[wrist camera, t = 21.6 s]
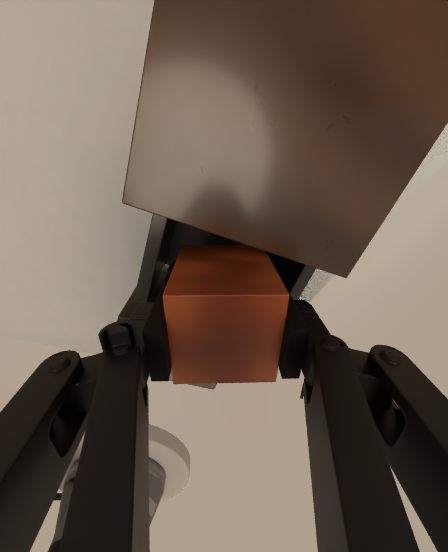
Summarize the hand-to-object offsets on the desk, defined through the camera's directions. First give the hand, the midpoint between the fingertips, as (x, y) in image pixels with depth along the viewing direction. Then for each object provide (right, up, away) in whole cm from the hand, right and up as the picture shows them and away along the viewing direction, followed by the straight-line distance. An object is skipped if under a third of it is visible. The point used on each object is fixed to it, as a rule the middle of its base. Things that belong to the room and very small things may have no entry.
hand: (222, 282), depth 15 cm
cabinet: (+3, +13, +3) cm, 13 cm away
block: (0, 0, 0) cm, 0 cm away
